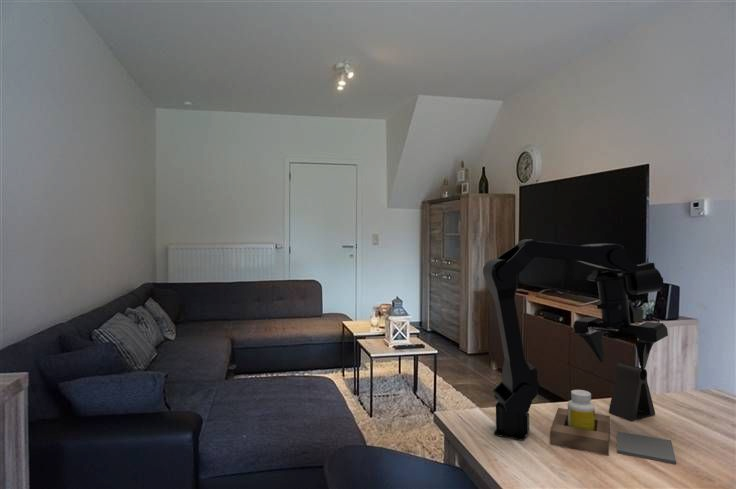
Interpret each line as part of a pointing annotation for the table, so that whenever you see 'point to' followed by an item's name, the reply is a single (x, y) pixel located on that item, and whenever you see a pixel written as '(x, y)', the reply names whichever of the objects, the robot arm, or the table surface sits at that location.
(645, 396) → the phone stand
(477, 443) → the table surface
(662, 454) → the coaster
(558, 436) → the pocket holder
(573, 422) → the supplement bottle
